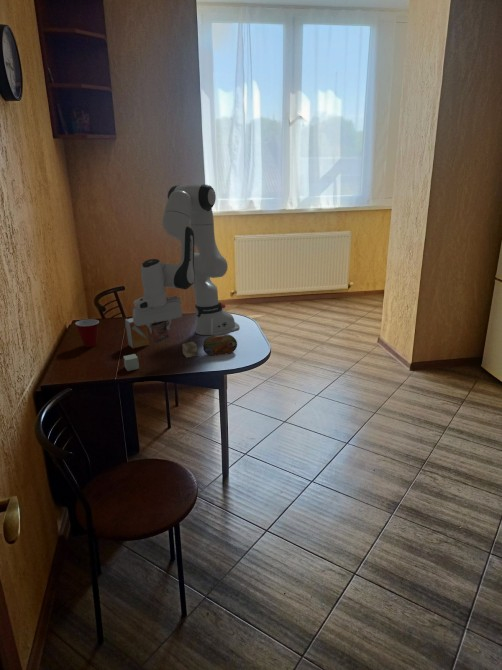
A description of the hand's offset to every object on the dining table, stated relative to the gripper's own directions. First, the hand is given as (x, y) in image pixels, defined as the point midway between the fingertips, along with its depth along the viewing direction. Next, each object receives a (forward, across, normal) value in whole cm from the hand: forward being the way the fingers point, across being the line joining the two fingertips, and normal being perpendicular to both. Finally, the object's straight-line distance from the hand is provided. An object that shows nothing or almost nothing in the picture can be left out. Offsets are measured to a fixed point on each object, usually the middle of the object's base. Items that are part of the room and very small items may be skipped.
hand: (160, 331), depth 196 cm
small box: (+14, +4, -27) cm, 31 cm away
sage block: (+14, +14, -2) cm, 20 cm away
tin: (+15, -24, +4) cm, 29 cm away
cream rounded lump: (+14, -12, -2) cm, 19 cm away
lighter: (+4, 0, 0) cm, 4 cm away
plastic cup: (+14, +24, -40) cm, 49 cm away
